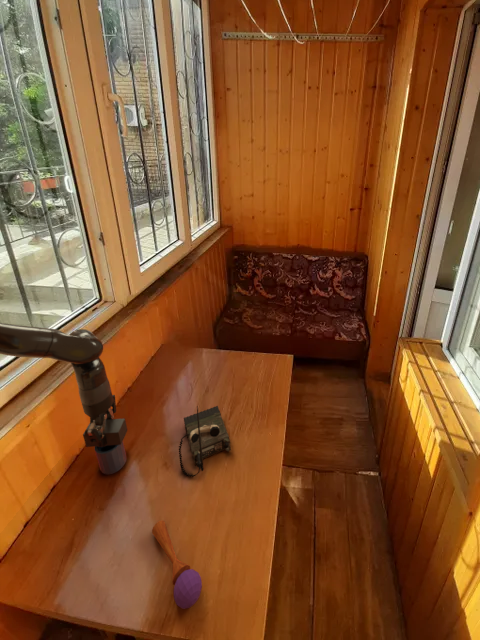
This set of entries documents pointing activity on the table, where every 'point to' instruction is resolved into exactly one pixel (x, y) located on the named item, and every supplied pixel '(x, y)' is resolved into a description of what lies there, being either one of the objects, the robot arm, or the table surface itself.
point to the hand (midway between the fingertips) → (107, 437)
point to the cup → (111, 458)
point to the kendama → (179, 571)
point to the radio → (205, 436)
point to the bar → (111, 432)
